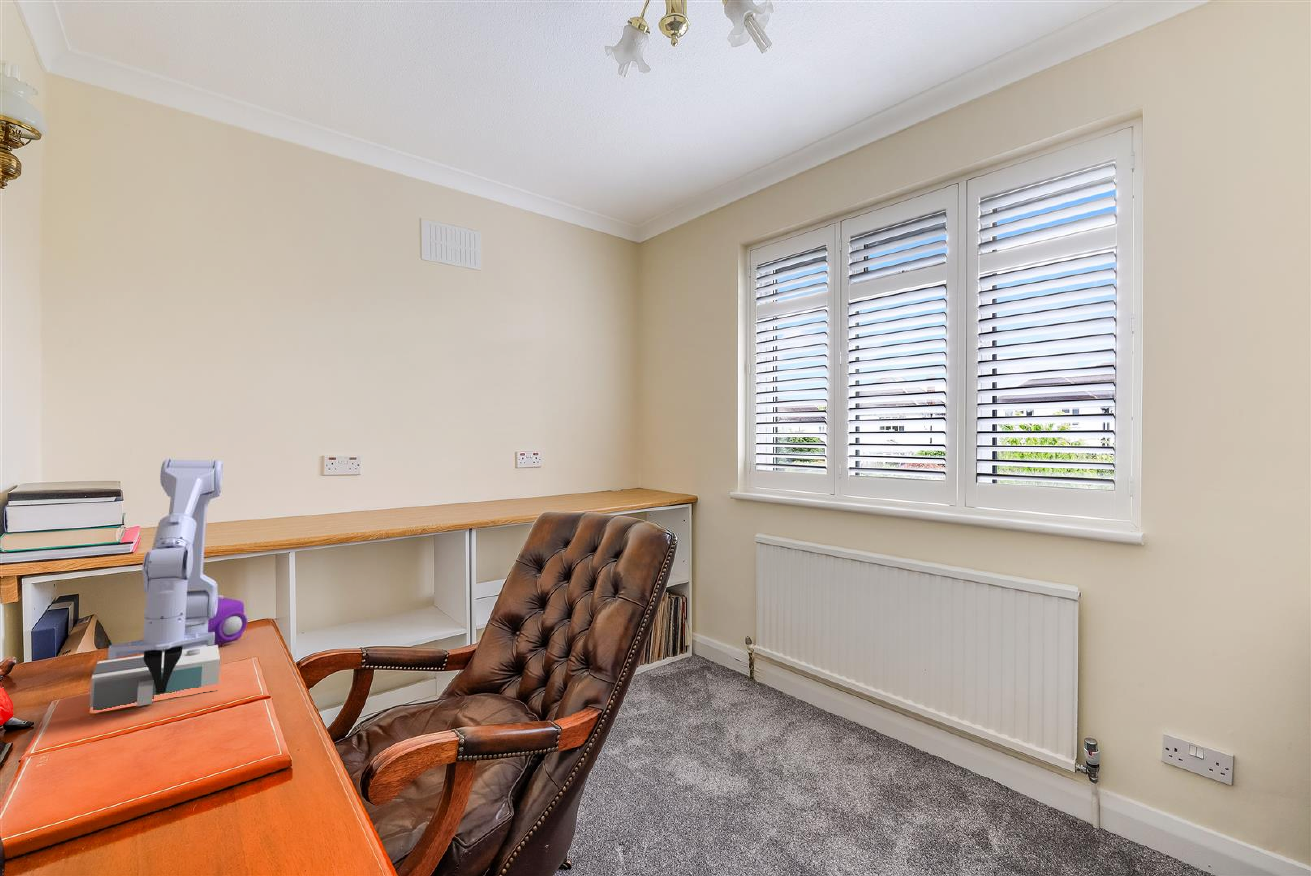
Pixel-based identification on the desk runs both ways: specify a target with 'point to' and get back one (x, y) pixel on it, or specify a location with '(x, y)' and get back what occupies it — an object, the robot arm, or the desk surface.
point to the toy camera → (228, 620)
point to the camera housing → (188, 672)
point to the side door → (124, 691)
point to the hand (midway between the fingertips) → (161, 691)
